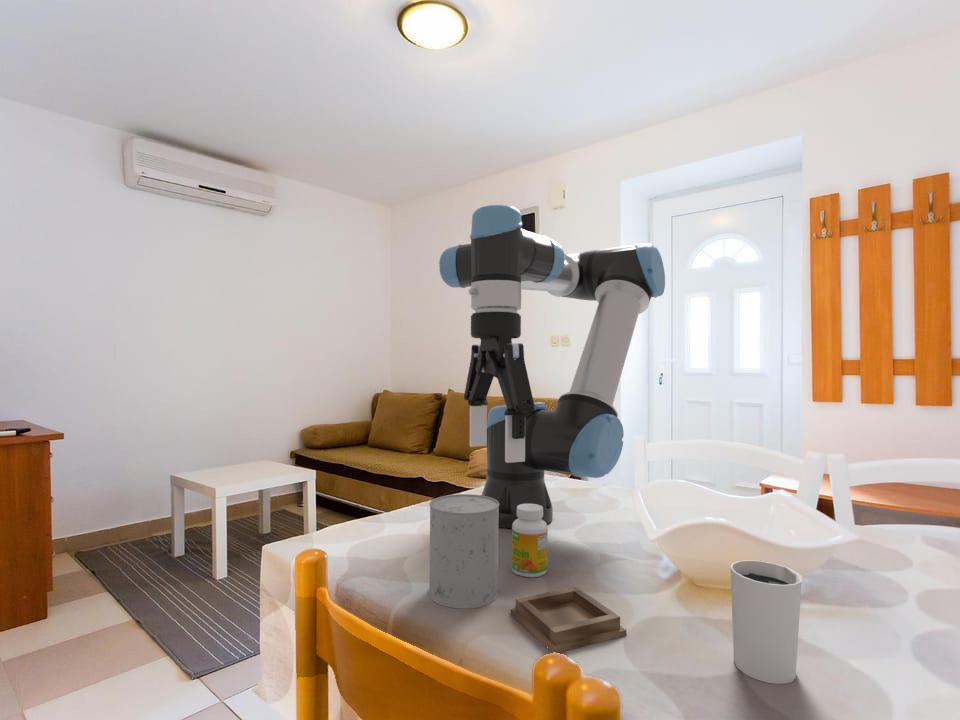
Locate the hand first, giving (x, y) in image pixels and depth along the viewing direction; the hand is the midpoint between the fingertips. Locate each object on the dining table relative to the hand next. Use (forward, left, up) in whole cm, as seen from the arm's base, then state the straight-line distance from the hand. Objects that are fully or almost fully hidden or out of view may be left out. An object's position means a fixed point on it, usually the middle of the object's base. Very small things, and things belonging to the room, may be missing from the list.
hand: (495, 453), depth 80 cm
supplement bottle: (-5, +2, -18) cm, 19 cm away
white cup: (-15, +34, -18) cm, 41 cm away
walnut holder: (-1, +18, -18) cm, 25 cm away
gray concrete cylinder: (+7, +5, -18) cm, 20 cm away
